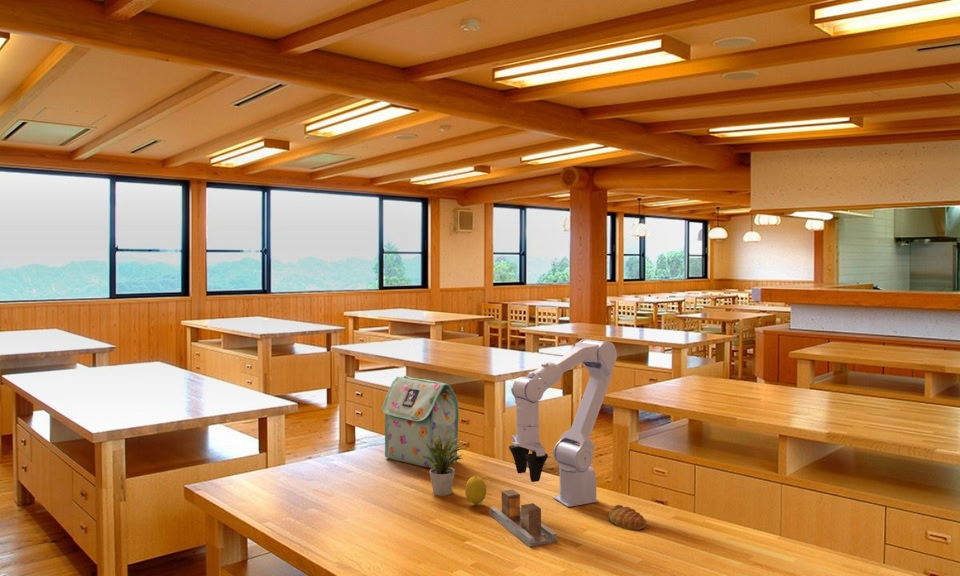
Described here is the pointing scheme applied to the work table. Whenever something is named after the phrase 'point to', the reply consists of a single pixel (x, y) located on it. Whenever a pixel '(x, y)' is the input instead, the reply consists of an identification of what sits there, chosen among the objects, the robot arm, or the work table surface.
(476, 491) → the lemon
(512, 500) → the brown rectangular block
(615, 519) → the pastry
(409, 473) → the work table surface
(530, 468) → the robot arm
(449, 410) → the lunch bag
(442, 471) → the house plant
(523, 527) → the rail
